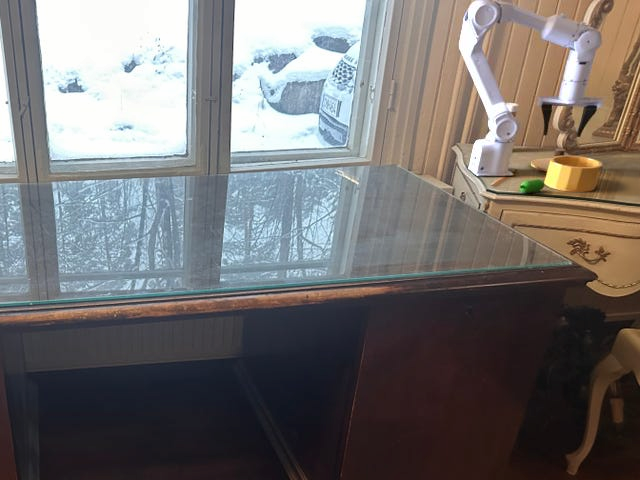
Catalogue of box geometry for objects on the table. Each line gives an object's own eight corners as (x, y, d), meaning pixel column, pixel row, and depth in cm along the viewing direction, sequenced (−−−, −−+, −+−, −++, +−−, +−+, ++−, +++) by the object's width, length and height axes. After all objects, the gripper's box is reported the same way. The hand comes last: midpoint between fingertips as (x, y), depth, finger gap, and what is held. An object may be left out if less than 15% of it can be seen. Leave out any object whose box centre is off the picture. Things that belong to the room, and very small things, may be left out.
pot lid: (541, 175, 182) (546, 156, 179) (522, 162, 193) (527, 144, 190) (589, 174, 181) (595, 155, 179) (568, 161, 192) (573, 143, 189)
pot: (556, 192, 170) (563, 168, 167) (536, 178, 180) (542, 155, 176) (604, 191, 169) (611, 167, 166) (581, 178, 179) (588, 155, 176)
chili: (519, 196, 169) (525, 186, 166) (511, 190, 170) (517, 179, 168) (544, 192, 171) (550, 182, 168) (536, 186, 173) (541, 176, 170)
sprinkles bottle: (510, 151, 203) (522, 104, 196) (501, 153, 201) (513, 106, 194) (497, 148, 206) (507, 101, 199) (488, 150, 204) (498, 103, 197)
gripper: (543, 82, 169) (530, 137, 176) (610, 83, 164) (594, 140, 171) (542, 77, 175) (530, 131, 182) (607, 78, 169) (592, 133, 176)
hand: (561, 135), depth 177 cm, fingers open, 7 cm apart
